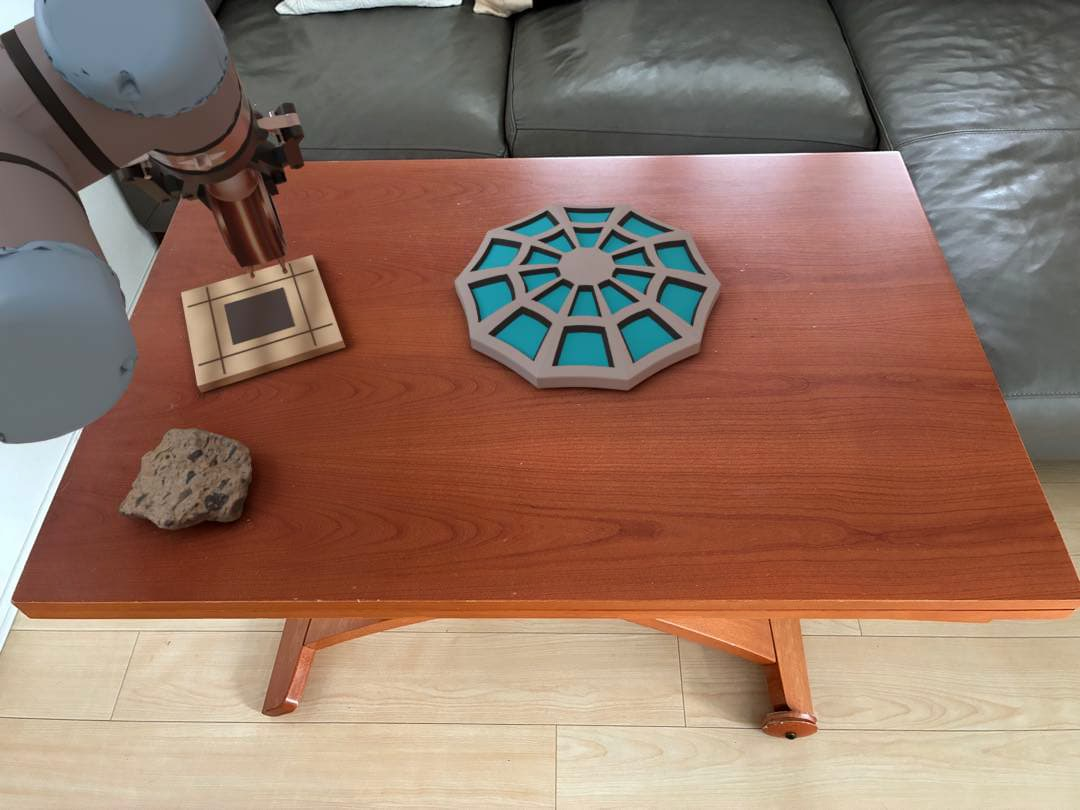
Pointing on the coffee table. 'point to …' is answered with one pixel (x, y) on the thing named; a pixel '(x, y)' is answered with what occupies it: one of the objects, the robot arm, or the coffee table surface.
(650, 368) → the decorative platform
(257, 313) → the game board
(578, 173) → the coffee table surface
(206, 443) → the rock
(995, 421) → the coffee table surface
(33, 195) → the robot arm
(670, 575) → the coffee table surface
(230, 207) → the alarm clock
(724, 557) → the coffee table surface
